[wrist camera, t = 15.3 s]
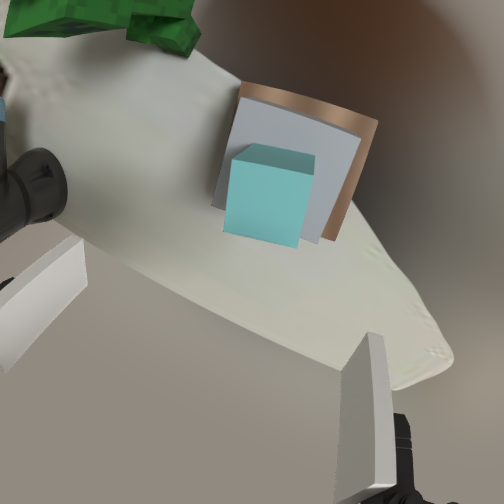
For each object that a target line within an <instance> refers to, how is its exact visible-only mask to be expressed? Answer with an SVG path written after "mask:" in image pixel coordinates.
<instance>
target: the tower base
mask: <svg viewBox="0 0 504 504" xmlns="http://www.w3.org/2000/svg"><path fill="white" fill-rule="evenodd" d="M241 97H256V98H259V99H263V100H266V101H269V102H273V103H276V104H279V105H282V106H285V107H288V108H291V109H294V110H297V111H300V112H303V113H306V114H309V115H312V116H314V117H317V118H320V119H323V120H325V121H328V122H330V123H333V124H336V125H338V126H341V127H343V128H346V129H348V130H351V131H353V132H355V133H356V134H357V135H358V136H359V137H360V138H361V141H360V143H359V146H358V148H357V151H356V154H355V156H354V159H353V161H352V164H351V166H350V168H349V171H348V173H347V176H346V178H345V181H344V183H343V186H342V188H341V190H340V193H339V195H338V197H337V200H336V202H335V205H334V207H333V209H332V212H331V214H330V216H329V218H328V221H327V223H326V225H325V228H324V230H323V232H322V234H321V237H322V238H325V239H328V240H332V241H335V240H336V238H337V235H338V233H339V230H340V228H341V225H342V222H343V220H344V217H345V215H346V212H347V209H348V207H349V204H350V201H351V199H352V196H353V193H354V191H355V188H356V185H357V182H358V180H359V177H360V174H361V171H362V168H363V166H364V162H365V160H366V157H367V154H368V151H369V148H370V145H371V142H372V139H373V136H374V133H375V130H376V127H377V124H378V121H377V120H374V119H372V118H369V117H367V116H364V115H362V114H359V113H356V112H353V111H350V110H347V109H345V108H342V107H339V106H336V105H333V104H330V103H326V102H323V101H320V100H316V99H313V98H310V97H306V96H303V95H299V94H295V93H292V92H288V91H284V90H280V89H276V88H272V87H268V86H264V85H259V84H255V83H250V82H245V81H242V82H241V86H240V90H239V94H238V99H237V103H236V107H235V111H234V116H233V120H232V125H231V129H232V126H233V122H234V119H235V115H236V112H237V108H238V105H239V102H240V98H241ZM231 129H230V133H231ZM230 133H229V136H230ZM228 140H229V138H228Z"/></svg>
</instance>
